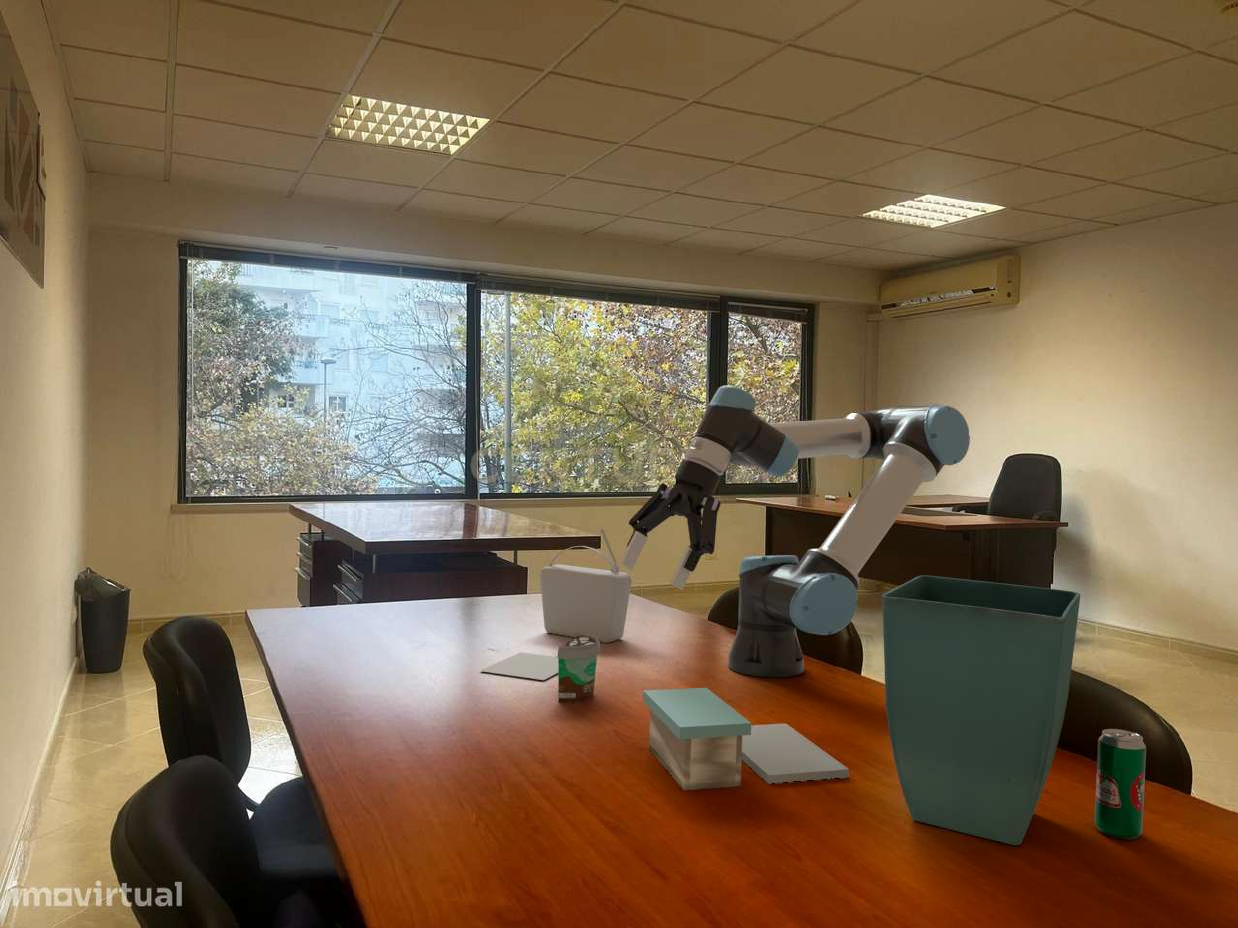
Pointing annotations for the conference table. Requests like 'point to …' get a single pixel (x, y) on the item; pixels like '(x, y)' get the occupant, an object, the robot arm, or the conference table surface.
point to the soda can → (1120, 784)
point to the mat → (787, 756)
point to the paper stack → (526, 666)
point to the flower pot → (976, 698)
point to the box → (697, 757)
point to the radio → (585, 599)
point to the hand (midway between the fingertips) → (649, 576)
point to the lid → (696, 713)
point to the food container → (577, 668)
